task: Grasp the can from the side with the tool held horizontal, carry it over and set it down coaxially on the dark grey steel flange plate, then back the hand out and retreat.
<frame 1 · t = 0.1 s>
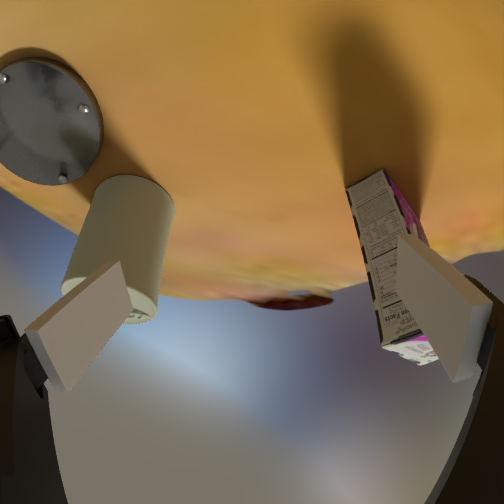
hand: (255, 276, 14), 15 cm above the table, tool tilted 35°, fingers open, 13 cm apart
can: (134, 204, 32), on the table
candy bar box: (386, 203, 32), on the table
flange plate: (38, 123, 22), on the table
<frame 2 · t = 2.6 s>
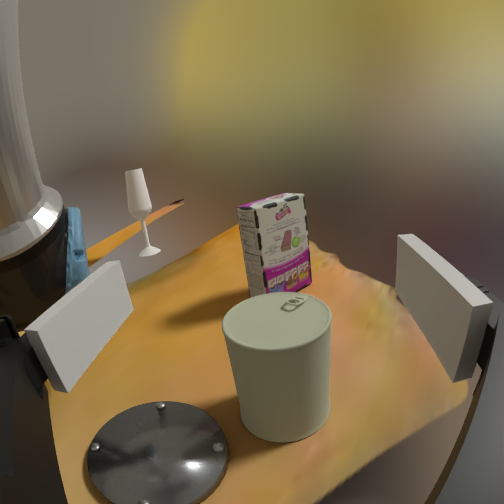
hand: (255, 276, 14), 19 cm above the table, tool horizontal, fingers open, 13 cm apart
can: (285, 410, 29), on the table
candy bar box: (281, 293, 55), on the table
champagne flute: (149, 253, 88), on the table
flange plate: (156, 457, 24), on the table
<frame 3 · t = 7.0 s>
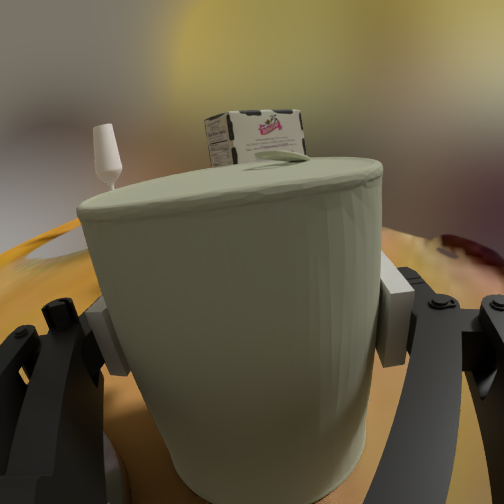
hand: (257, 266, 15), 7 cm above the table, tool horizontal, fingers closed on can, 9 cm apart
can: (267, 434, 13), on the table, touching gripper
candy bar box: (271, 249, 39), on the table
champagne flute: (119, 223, 72), on the table
flange plate: (10, 494, 8), on the table
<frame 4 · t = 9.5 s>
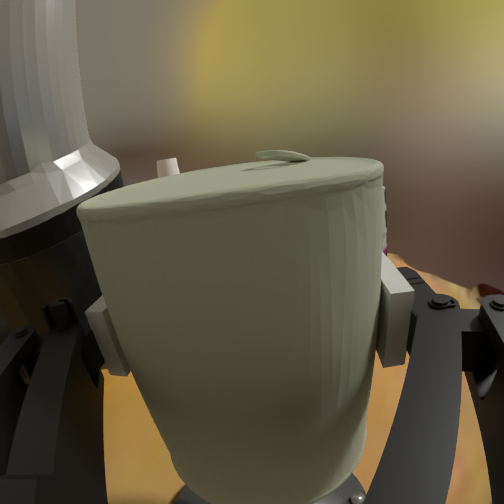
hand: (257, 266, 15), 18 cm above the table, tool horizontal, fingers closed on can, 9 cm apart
can: (267, 435, 13), point 11 cm above the table, touching gripper
champagne flute: (182, 253, 80), on the table
when the fingers open (9 cm above the table, at t = 12.3 s): can drops 2 cm, resting on flange plate.
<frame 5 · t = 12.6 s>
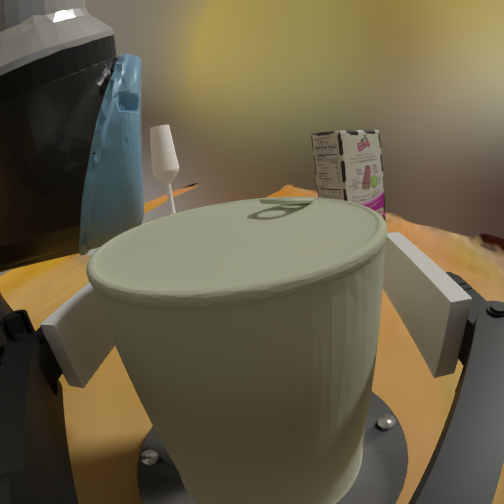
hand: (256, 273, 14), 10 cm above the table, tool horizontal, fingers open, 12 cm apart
can: (270, 454, 13), point 1 cm above the table, touching flange plate
candy bar box: (355, 244, 45), on the table
champagne flute: (174, 221, 78), on the table
flange plate: (271, 462, 14), on the table
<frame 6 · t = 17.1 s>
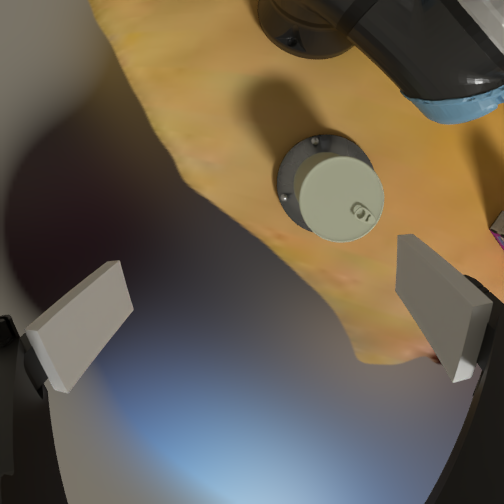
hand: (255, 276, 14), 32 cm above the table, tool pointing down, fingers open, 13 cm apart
can: (326, 185, 42), point 1 cm above the table, touching flange plate
flange plate: (326, 184, 43), on the table
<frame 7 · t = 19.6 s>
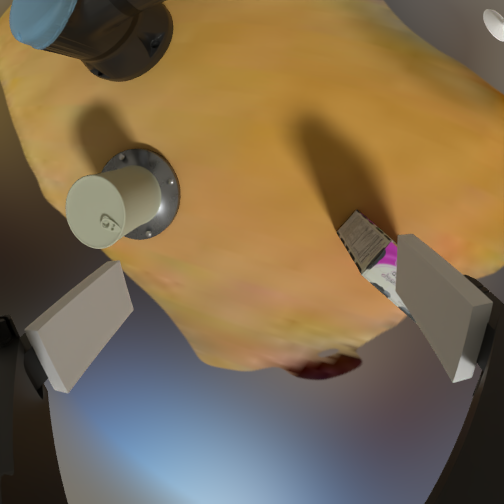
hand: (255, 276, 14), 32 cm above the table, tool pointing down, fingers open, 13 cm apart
can: (134, 195, 45), point 1 cm above the table, touching flange plate
candy bar box: (371, 241, 45), on the table
champagne flute: (496, 25, 29), on the table
flange plate: (138, 193, 46), on the table
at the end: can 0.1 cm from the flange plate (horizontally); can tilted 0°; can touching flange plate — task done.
